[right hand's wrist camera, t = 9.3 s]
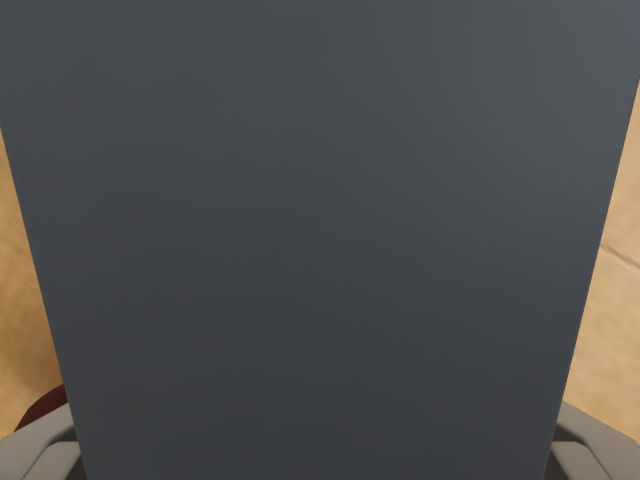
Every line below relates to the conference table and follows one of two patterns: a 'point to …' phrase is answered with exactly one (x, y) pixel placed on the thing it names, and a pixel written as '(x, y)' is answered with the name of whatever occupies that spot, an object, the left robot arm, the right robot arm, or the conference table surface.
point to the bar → (315, 225)
